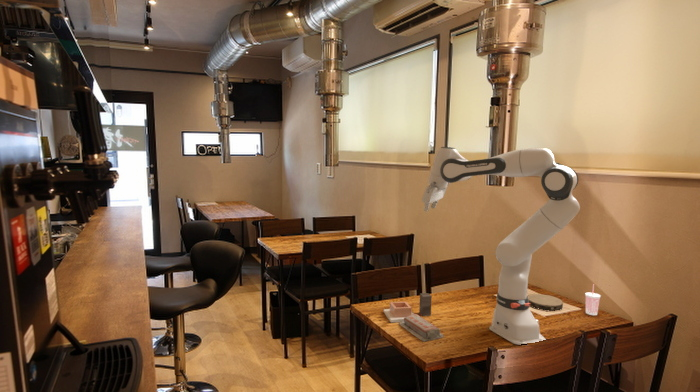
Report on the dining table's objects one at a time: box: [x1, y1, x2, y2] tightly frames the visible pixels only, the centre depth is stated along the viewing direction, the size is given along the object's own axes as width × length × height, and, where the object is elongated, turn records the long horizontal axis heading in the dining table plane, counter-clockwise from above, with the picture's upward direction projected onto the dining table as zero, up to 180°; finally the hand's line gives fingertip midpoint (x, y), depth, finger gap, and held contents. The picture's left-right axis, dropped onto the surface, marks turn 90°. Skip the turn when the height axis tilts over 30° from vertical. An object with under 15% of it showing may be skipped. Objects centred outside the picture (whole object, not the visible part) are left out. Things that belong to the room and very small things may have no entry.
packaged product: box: [398, 313, 444, 343], centre depth 167 cm, size 18×5×10 cm
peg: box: [418, 292, 433, 317], centre depth 185 cm, size 4×4×9 cm
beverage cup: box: [584, 283, 601, 316], centre depth 188 cm, size 6×6×14 cm
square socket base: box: [383, 301, 415, 323], centre depth 182 cm, size 12×12×5 cm
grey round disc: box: [527, 293, 564, 312], centre depth 199 cm, size 16×16×3 cm
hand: (429, 209), depth 189 cm, fingers open, 8 cm apart
